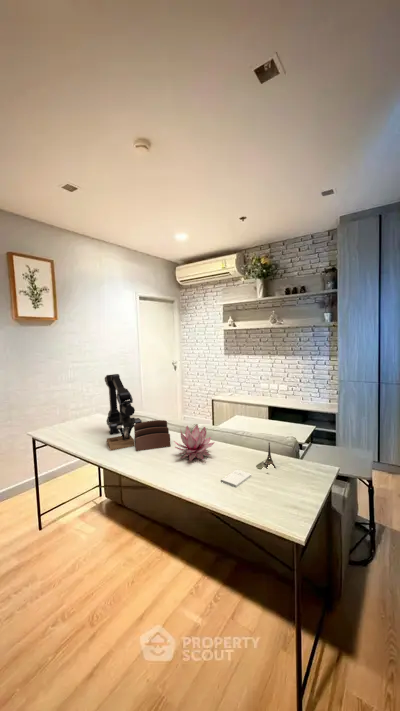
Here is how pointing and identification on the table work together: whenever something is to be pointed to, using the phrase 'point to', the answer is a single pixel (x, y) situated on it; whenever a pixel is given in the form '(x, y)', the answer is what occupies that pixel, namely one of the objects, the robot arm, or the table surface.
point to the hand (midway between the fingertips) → (126, 437)
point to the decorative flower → (195, 443)
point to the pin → (125, 433)
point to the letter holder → (151, 435)
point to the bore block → (119, 442)
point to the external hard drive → (236, 478)
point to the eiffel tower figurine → (266, 461)
